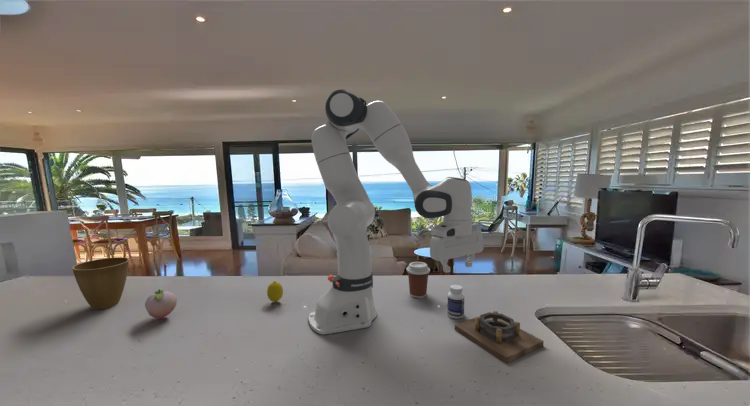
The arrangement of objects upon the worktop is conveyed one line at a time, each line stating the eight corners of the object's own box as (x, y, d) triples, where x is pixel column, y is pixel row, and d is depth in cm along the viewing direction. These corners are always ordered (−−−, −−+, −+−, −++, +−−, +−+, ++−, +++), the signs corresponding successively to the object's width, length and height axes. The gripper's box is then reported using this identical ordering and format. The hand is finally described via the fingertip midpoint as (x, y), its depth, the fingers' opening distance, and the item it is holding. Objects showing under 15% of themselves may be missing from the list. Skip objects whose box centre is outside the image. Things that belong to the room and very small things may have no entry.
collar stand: (506, 363, 72) (506, 344, 72) (454, 329, 88) (454, 313, 87) (543, 346, 79) (544, 328, 79) (489, 317, 95) (489, 302, 94)
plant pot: (75, 319, 96) (69, 272, 95) (79, 304, 107) (74, 262, 106) (133, 305, 106) (129, 263, 104) (132, 293, 117) (128, 254, 115)
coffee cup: (433, 292, 115) (433, 263, 114) (424, 301, 107) (424, 269, 106) (412, 288, 120) (412, 259, 118) (402, 296, 112) (402, 265, 111)
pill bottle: (464, 319, 94) (465, 290, 92) (447, 318, 95) (448, 289, 94) (463, 312, 99) (463, 284, 98) (446, 310, 100) (447, 283, 99)
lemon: (264, 304, 106) (263, 283, 105) (274, 298, 111) (273, 277, 110) (276, 306, 104) (275, 285, 103) (286, 300, 109) (285, 279, 108)
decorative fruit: (181, 318, 96) (178, 289, 95) (150, 328, 91) (147, 297, 89) (173, 309, 103) (171, 282, 102) (144, 317, 97) (141, 289, 96)
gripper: (473, 222, 101) (473, 261, 103) (426, 229, 92) (427, 272, 93) (488, 225, 96) (488, 266, 97) (439, 233, 86) (440, 278, 88)
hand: (457, 269), depth 95 cm, fingers open, 8 cm apart
